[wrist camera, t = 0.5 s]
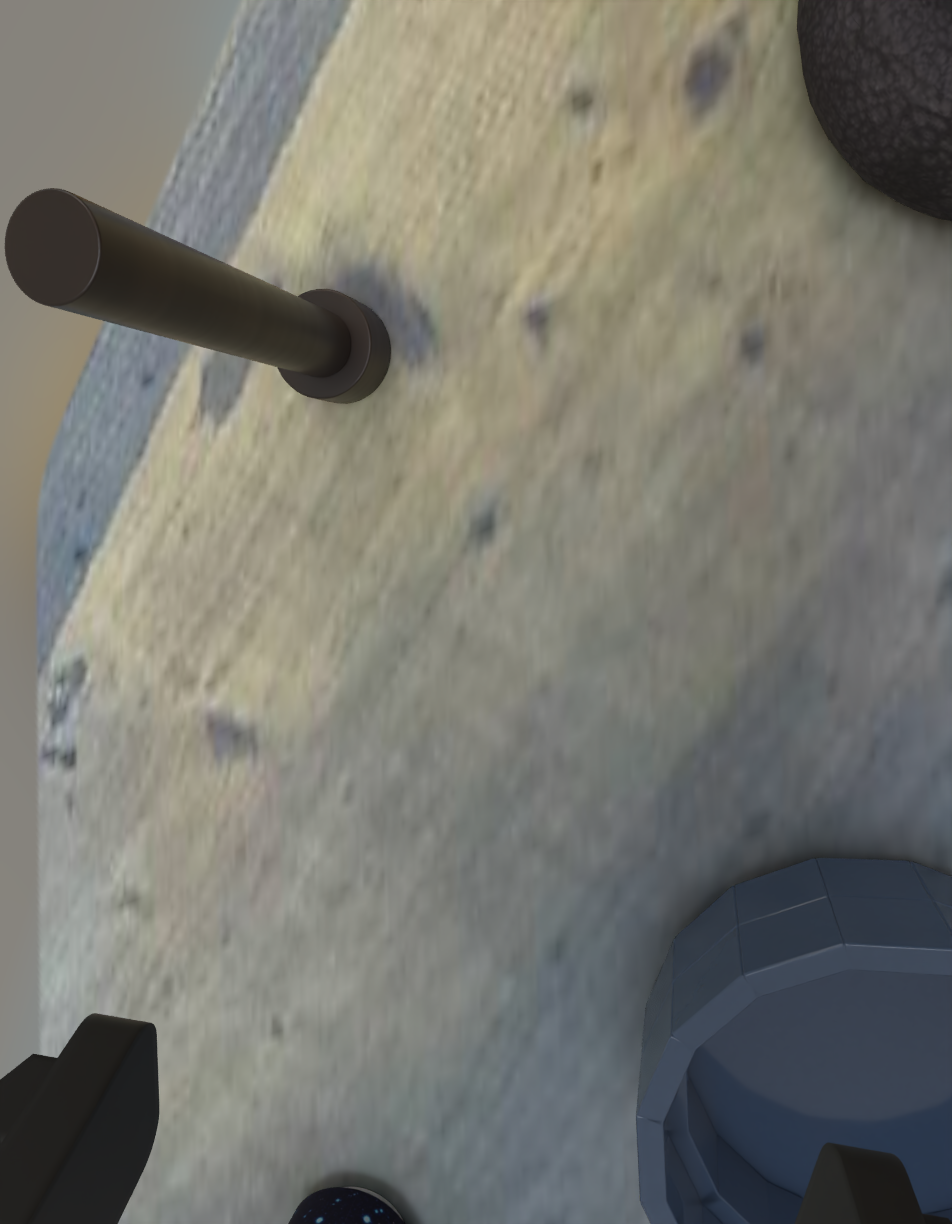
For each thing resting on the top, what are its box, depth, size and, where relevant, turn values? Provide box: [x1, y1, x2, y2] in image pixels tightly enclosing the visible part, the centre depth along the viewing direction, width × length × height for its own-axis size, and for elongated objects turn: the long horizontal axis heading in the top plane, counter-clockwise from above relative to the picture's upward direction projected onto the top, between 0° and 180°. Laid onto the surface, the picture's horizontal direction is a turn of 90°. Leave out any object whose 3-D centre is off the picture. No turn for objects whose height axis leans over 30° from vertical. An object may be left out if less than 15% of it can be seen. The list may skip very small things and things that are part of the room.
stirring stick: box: [5, 188, 390, 403], centre depth 24 cm, size 4×4×15 cm
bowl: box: [636, 858, 952, 1224], centre depth 28 cm, size 15×15×6 cm
